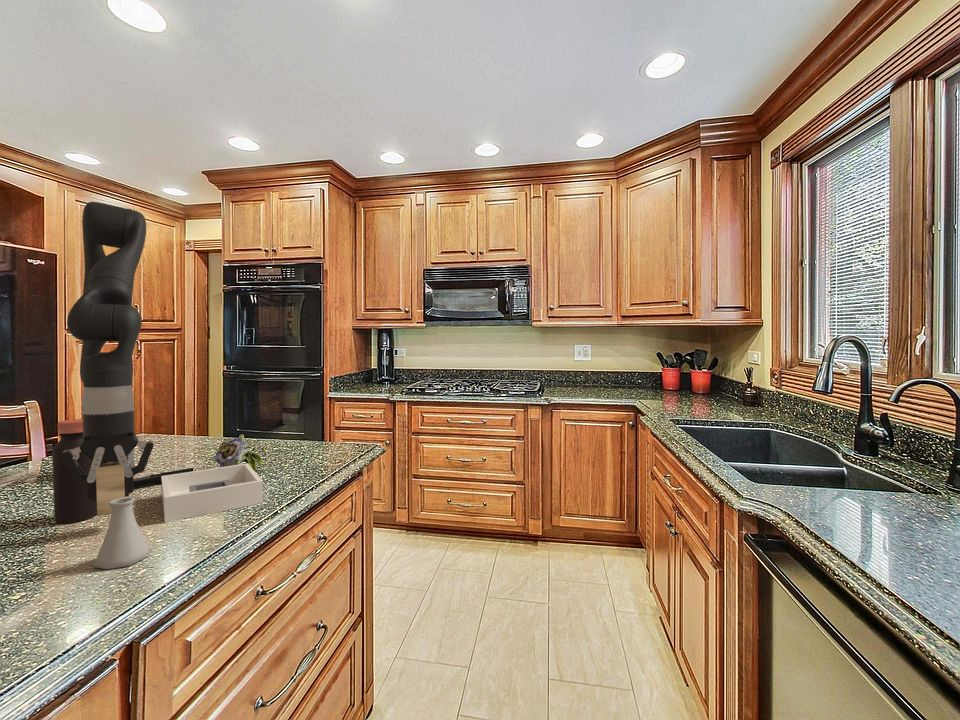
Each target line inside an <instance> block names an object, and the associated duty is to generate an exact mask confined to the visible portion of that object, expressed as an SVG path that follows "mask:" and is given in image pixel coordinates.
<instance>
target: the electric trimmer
mask: <svg viewBox="0 0 960 720" xmlns="http://www.w3.org/2000/svg"><path fill="white" fill-rule="evenodd" d="M194 468H195V467H190V468H184V469H177V470H172V471H171V470H170V471H167V472H166V471H165V472H160V473H156V474H150V475H148V476H141V477H138V478H133V486H134V489H133V490H136V489H135V488H137V489H140V487H141V488H145V486H146V487H149V486H150V485H151V486H156V485H159V484H160V485H162V484H161V483H162V482H161V476H165V475H172V474H179V473H186V472H192V471H195V470H194Z"/></svg>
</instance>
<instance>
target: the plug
mask: <svg viewBox="0 0 960 720" xmlns="http://www.w3.org/2000/svg"><path fill="white" fill-rule="evenodd" d="M124 477H125V474H124V465H120V463H119V462H108V463H105V464H100V467H99V468H96V488H97V515H96V516H97V517H102V516H108V515H111V507H110V506H109V503H110V502H111V501H112V500H115V499H118V498H125V485H124Z"/></svg>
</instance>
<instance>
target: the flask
mask: <svg viewBox="0 0 960 720" xmlns="http://www.w3.org/2000/svg"><path fill="white" fill-rule="evenodd" d="M135 499H136V498H135V497H130V496H128V497H125V498H118V499H115V500H112V501H111V502H110V503H109V506H110V507H111V514H110V520H109V526H108V528H107V531H106V532H105V533H106V534H105V536H104V537H103V538H104V539H103V541H102V544H101V547H100V549H99V552H98V554H97V556H96V558H95V560H94V563H93V568H98V569H103V570H111V569H116V568H122V567H129V566H131V565H133V564H135V563H137V562H140V561H142V560H144V559H146V558H147V557H148V556H149V554H150V553H151V551H152V548H151V545H150V544H149V543H148V541H147V538H146V537H145V535H144V534H143V532H142V531H141V528H140V526H139V525H138V522H137V520H136V517H135V513H134V507H133V503H134V502H135Z"/></svg>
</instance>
